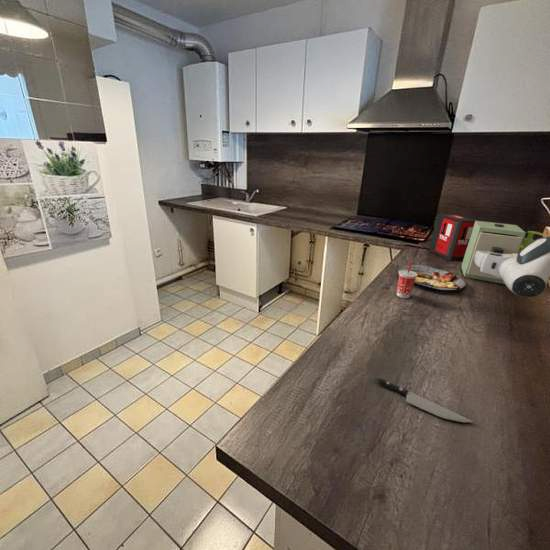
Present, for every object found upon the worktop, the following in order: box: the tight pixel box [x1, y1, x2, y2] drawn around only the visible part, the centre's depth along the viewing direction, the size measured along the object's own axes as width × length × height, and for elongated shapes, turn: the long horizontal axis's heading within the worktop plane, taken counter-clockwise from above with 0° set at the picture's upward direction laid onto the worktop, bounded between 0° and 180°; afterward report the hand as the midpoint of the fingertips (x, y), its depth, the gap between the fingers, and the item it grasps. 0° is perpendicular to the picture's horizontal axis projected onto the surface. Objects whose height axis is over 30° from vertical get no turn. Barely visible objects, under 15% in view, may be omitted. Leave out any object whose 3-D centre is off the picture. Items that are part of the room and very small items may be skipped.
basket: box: [467, 232, 524, 280], centre depth 122 cm, size 17×14×18 cm
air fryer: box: [461, 220, 527, 285], centre depth 124 cm, size 14×15×23 cm
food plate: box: [397, 264, 467, 292], centre depth 120 cm, size 25×23×4 cm
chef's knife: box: [376, 377, 474, 423], centre depth 61 cm, size 19×1×3 cm
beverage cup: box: [396, 259, 417, 299], centre depth 105 cm, size 6×6×14 cm
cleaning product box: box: [428, 213, 478, 262], centre depth 149 cm, size 16×9×20 cm, turn 10°
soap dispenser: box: [518, 230, 545, 254], centre depth 126 cm, size 6×7×20 cm
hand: (505, 255), depth 104 cm, fingers open, 8 cm apart
